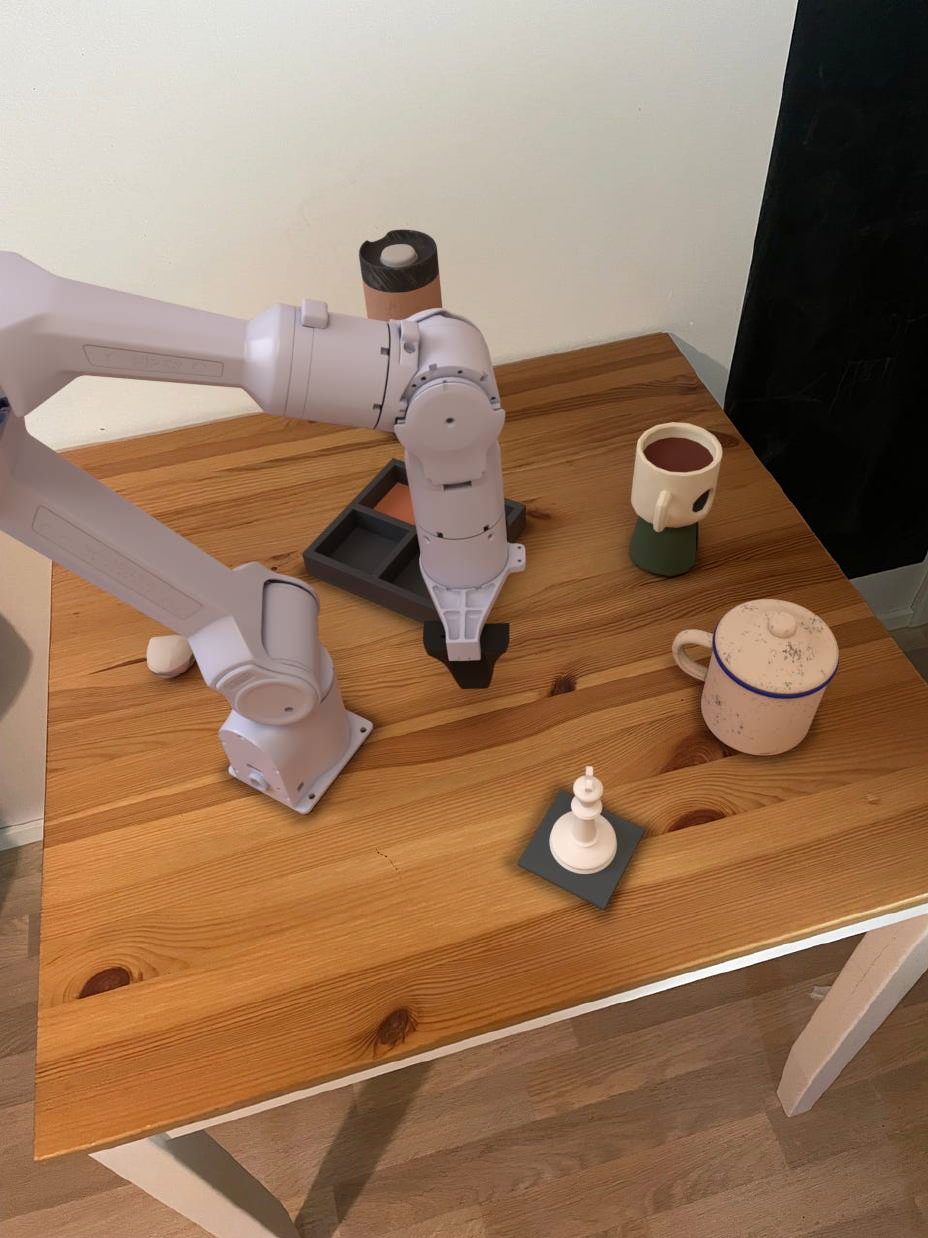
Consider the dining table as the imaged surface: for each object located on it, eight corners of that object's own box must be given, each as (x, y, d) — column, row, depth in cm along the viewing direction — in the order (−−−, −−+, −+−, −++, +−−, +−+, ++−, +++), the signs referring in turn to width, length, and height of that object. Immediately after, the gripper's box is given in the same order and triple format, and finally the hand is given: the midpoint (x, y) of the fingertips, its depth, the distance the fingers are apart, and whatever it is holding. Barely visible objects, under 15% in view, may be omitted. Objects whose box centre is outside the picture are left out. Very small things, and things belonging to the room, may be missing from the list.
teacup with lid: (824, 690, 76) (862, 596, 67) (797, 777, 71) (834, 688, 62) (683, 643, 80) (701, 549, 71) (647, 723, 75) (663, 632, 66)
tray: (444, 632, 82) (442, 612, 80) (307, 573, 88) (301, 553, 86) (526, 526, 91) (526, 504, 88) (395, 478, 96) (392, 457, 94)
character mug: (686, 606, 83) (708, 499, 73) (609, 587, 85) (620, 480, 75) (712, 526, 89) (735, 417, 79) (640, 510, 91) (653, 401, 81)
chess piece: (617, 815, 69) (627, 743, 62) (616, 877, 66) (627, 809, 59) (551, 810, 70) (554, 738, 62) (547, 871, 67) (549, 802, 59)
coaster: (604, 910, 65) (604, 908, 65) (517, 865, 68) (517, 863, 67) (644, 831, 69) (645, 829, 69) (560, 791, 71) (560, 789, 71)
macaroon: (168, 691, 80) (159, 673, 78) (135, 661, 82) (126, 643, 80) (208, 661, 82) (200, 643, 80) (175, 633, 84) (166, 615, 82)
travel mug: (445, 443, 99) (429, 270, 84) (376, 439, 101) (348, 267, 85) (456, 400, 104) (444, 229, 89) (390, 397, 105) (367, 227, 90)
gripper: (524, 591, 53) (532, 723, 63) (521, 430, 62) (528, 568, 72) (402, 596, 53) (429, 726, 64) (417, 436, 63) (438, 572, 73)
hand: (475, 642), depth 68 cm, fingers open, 7 cm apart
